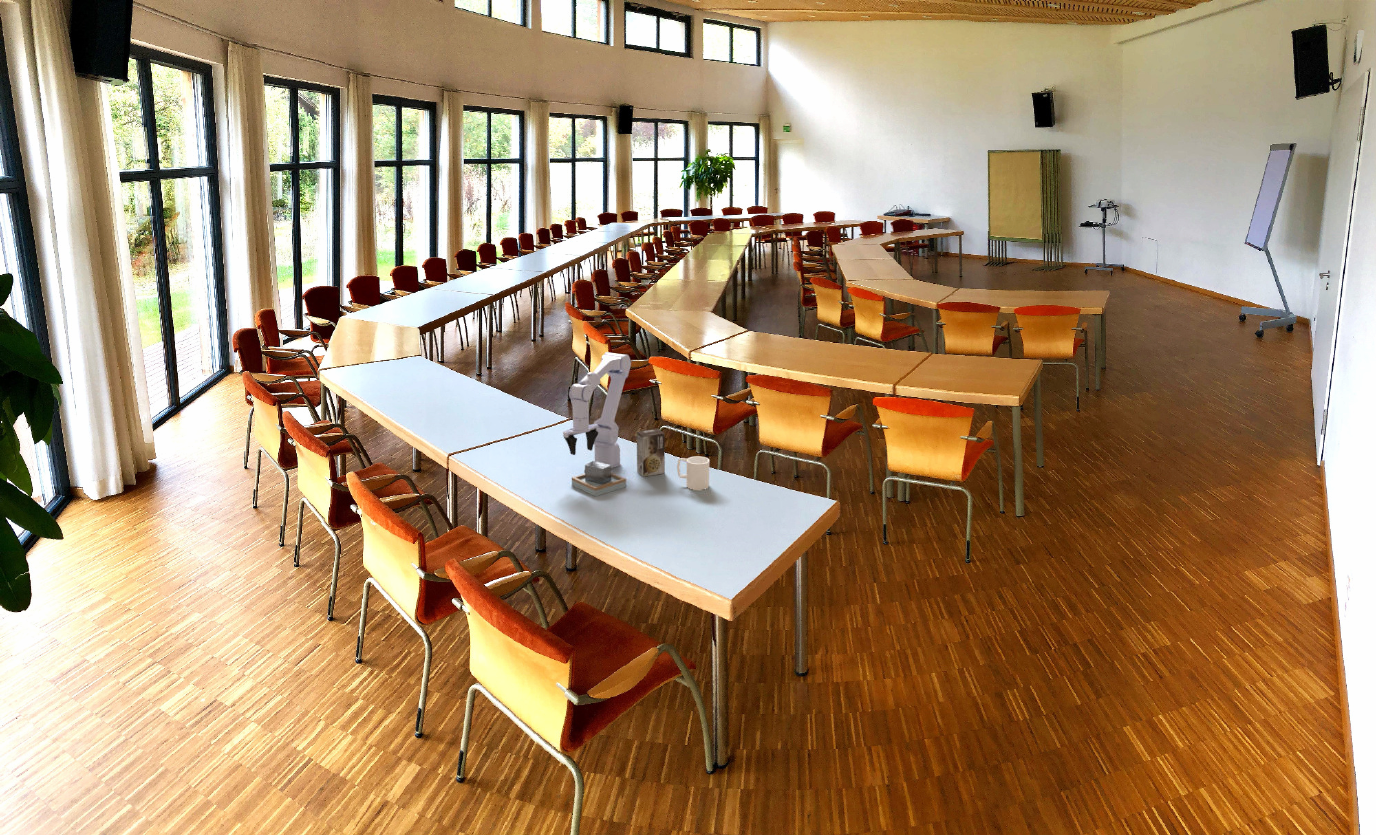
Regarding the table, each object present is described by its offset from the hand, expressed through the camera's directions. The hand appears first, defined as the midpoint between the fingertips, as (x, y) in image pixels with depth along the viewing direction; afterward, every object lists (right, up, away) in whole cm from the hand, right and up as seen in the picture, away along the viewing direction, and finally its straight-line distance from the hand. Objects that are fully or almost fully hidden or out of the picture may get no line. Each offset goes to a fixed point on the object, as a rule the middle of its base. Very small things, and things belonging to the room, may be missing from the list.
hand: (581, 452), depth 323 cm
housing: (+7, -10, -4) cm, 13 cm away
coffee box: (+25, -8, +10) cm, 28 cm away
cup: (+41, -12, -2) cm, 43 cm away
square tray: (+7, -12, -4) cm, 14 cm away
